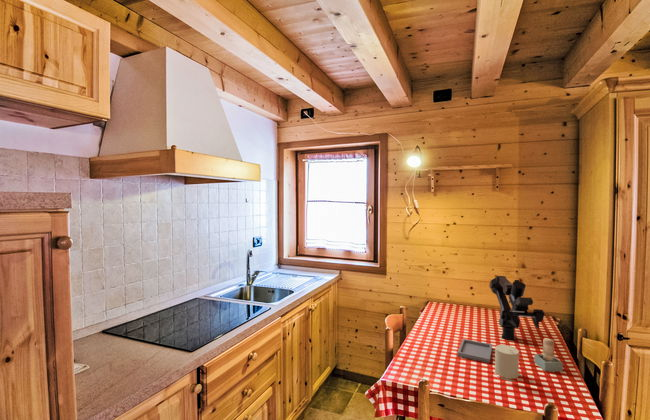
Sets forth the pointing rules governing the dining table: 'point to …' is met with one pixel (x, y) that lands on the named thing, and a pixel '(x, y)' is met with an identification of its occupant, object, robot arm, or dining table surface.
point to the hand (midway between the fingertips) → (527, 327)
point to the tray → (475, 350)
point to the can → (506, 362)
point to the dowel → (548, 350)
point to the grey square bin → (548, 363)
